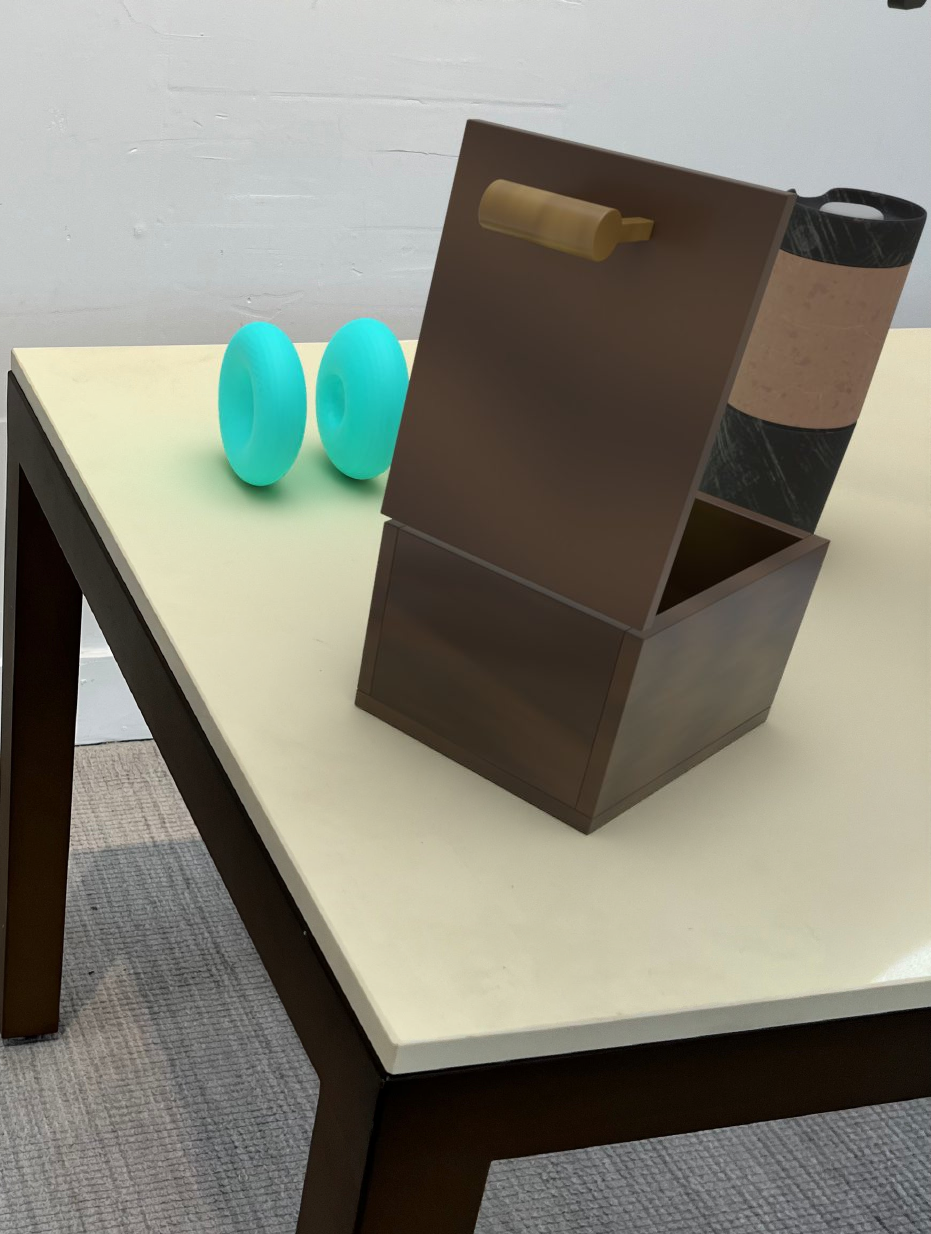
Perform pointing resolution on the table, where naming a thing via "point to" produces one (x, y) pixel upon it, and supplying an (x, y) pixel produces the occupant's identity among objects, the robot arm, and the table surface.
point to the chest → (586, 661)
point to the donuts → (345, 400)
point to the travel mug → (813, 353)
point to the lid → (578, 360)
